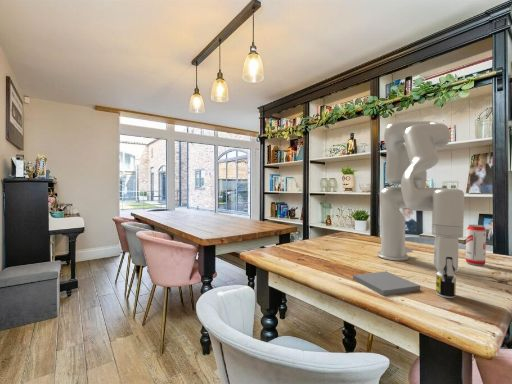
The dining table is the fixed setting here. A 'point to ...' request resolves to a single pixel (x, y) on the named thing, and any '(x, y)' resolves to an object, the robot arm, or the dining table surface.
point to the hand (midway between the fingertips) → (445, 291)
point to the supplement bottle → (438, 280)
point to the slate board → (386, 283)
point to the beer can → (476, 245)
